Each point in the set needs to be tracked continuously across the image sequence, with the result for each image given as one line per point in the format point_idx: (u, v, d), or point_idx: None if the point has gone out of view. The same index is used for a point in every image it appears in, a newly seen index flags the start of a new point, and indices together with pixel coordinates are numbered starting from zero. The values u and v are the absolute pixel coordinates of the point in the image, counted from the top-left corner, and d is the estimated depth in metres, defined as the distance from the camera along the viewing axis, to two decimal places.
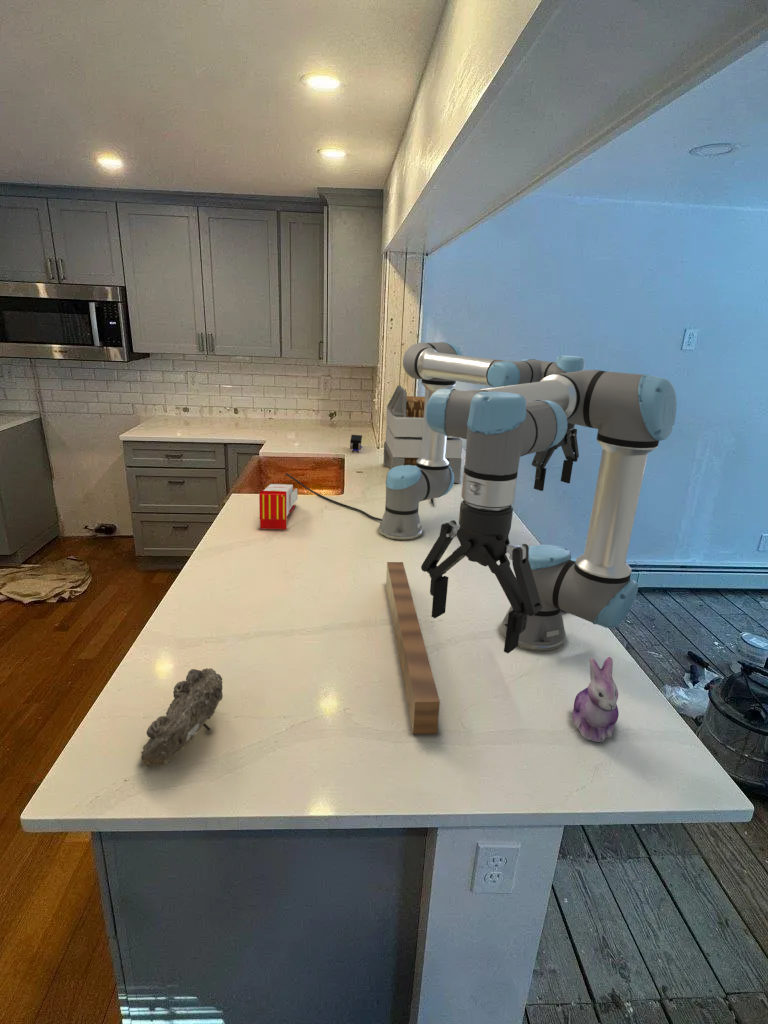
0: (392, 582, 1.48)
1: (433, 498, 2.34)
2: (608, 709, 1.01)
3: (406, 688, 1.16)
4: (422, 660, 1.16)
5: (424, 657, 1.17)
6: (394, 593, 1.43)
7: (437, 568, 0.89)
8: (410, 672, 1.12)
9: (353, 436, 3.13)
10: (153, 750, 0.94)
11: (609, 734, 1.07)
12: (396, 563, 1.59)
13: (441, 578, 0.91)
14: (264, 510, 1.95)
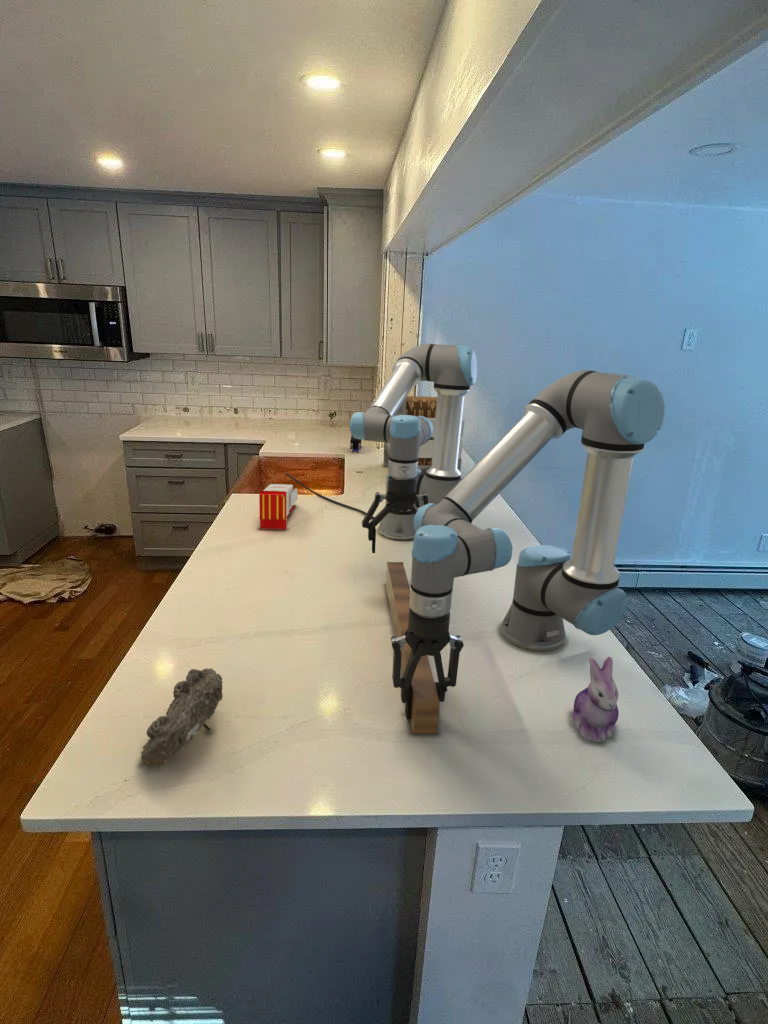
0: (392, 582, 1.48)
1: None
2: (608, 709, 1.01)
3: None
4: (422, 660, 1.16)
5: (424, 657, 1.17)
6: (394, 593, 1.43)
7: (406, 680, 1.06)
8: None
9: None
10: (153, 750, 0.94)
11: (609, 734, 1.07)
12: (396, 563, 1.59)
13: None
14: (264, 510, 1.95)
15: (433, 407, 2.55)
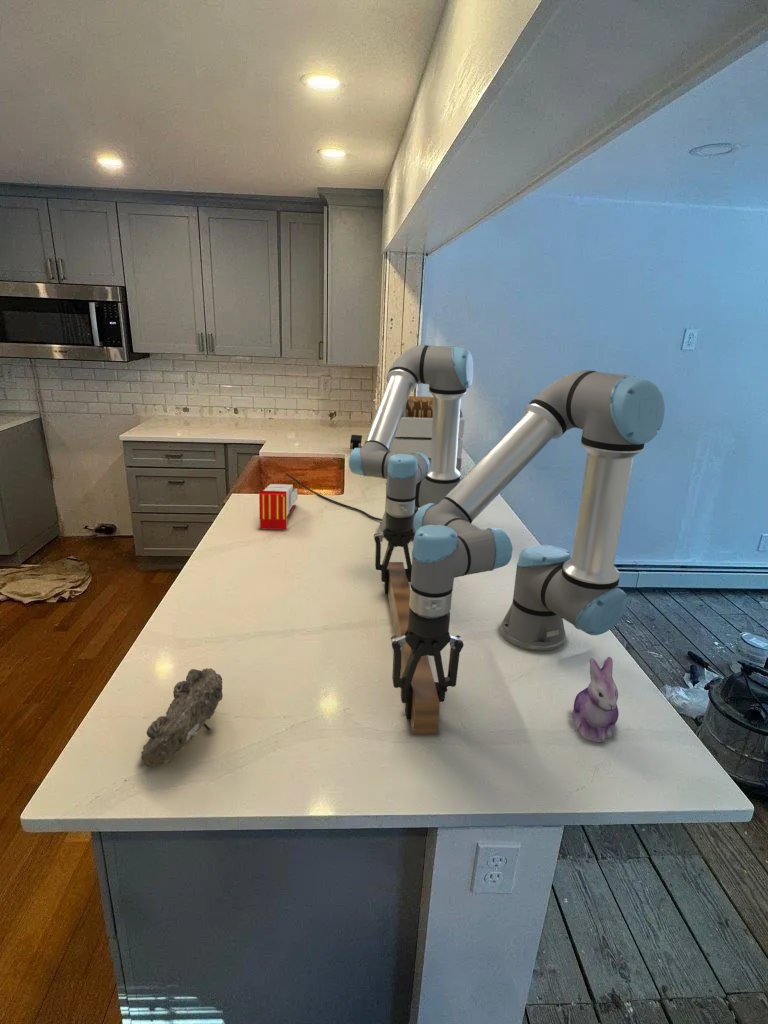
0: (392, 582, 1.48)
1: None
2: (608, 709, 1.01)
3: None
4: (422, 660, 1.16)
5: (424, 657, 1.17)
6: (394, 593, 1.43)
7: (406, 680, 1.06)
8: None
9: (353, 436, 3.13)
10: (153, 750, 0.94)
11: (609, 734, 1.07)
12: (396, 563, 1.59)
13: None
14: (264, 510, 1.95)
15: None
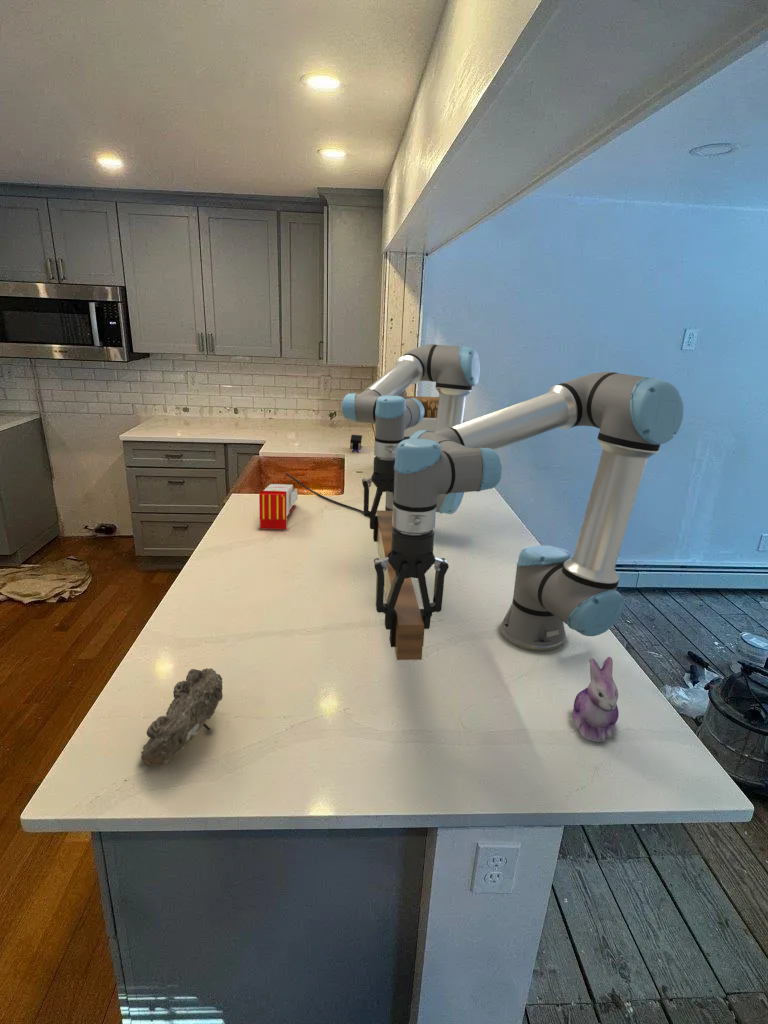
0: (380, 526, 1.45)
1: None
2: (608, 709, 1.01)
3: None
4: (408, 591, 1.12)
5: (410, 588, 1.14)
6: (382, 535, 1.39)
7: (390, 604, 1.03)
8: None
9: (353, 436, 3.13)
10: (153, 750, 0.94)
11: (609, 734, 1.07)
12: (386, 511, 1.56)
13: (393, 612, 1.05)
14: (264, 510, 1.95)
15: (433, 407, 2.55)
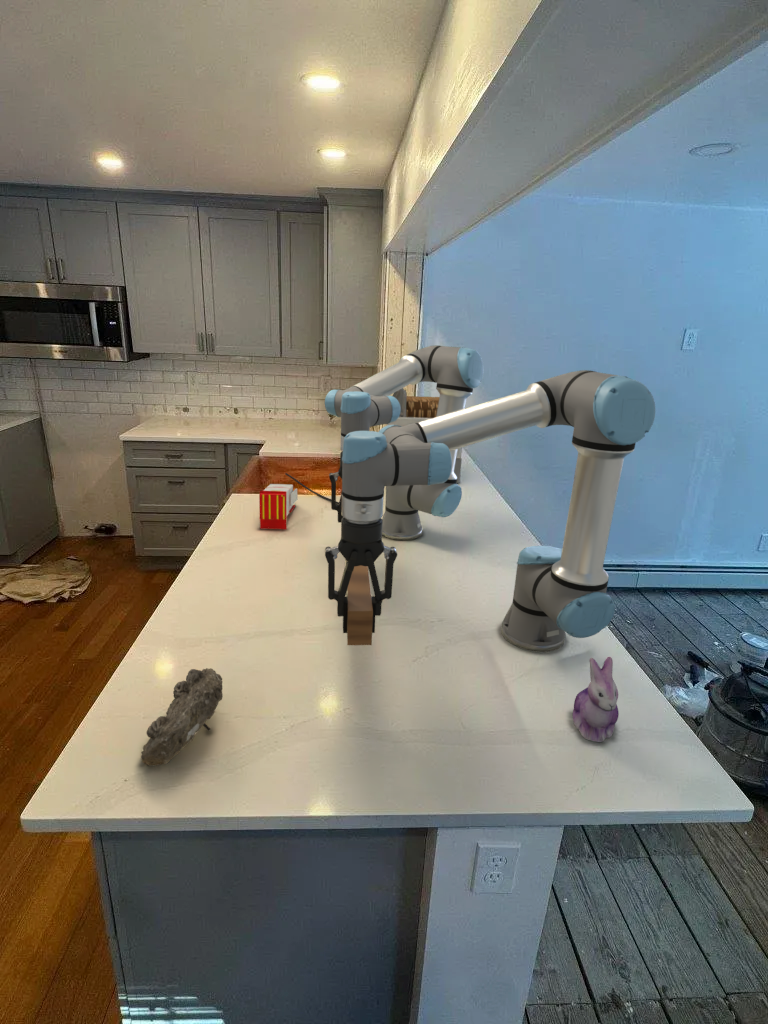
0: None
1: None
2: (608, 709, 1.01)
3: None
4: (363, 579, 1.16)
5: (365, 576, 1.17)
6: None
7: (341, 591, 1.06)
8: (348, 588, 1.12)
9: None
10: (153, 750, 0.94)
11: (609, 734, 1.07)
12: None
13: (345, 599, 1.08)
14: (264, 510, 1.95)
15: (433, 407, 2.55)
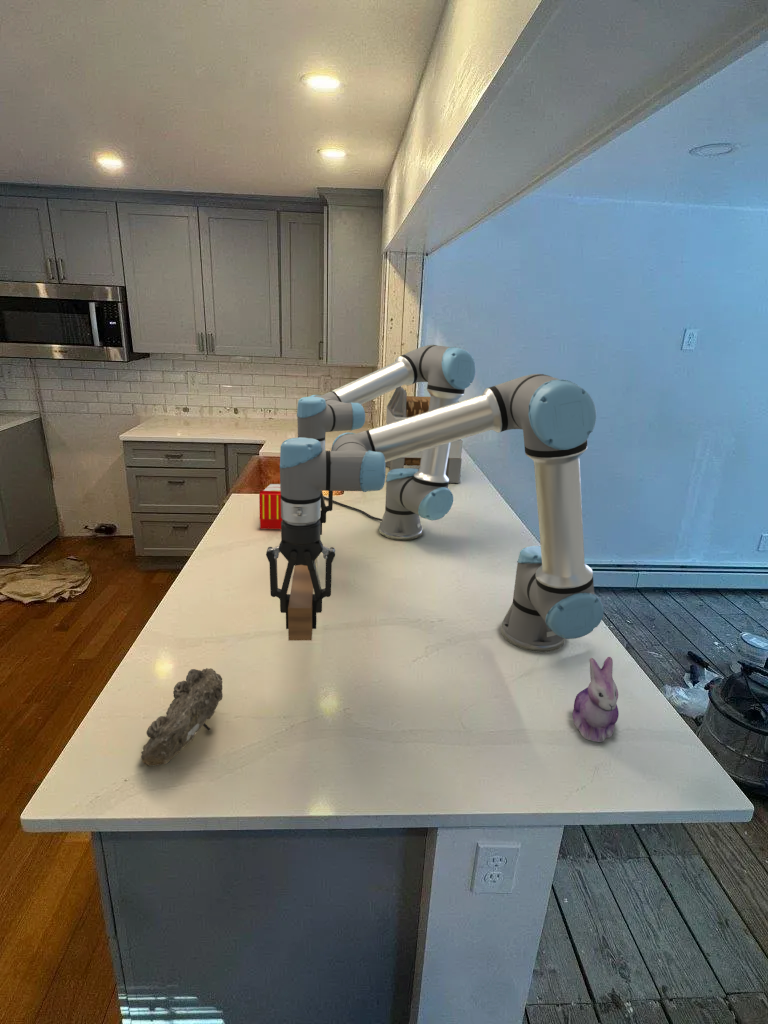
0: None
1: None
2: (608, 709, 1.01)
3: None
4: (308, 578, 1.22)
5: None
6: None
7: (283, 589, 1.12)
8: (292, 586, 1.18)
9: None
10: (153, 750, 0.94)
11: (609, 734, 1.07)
12: None
13: (287, 597, 1.14)
14: (264, 510, 1.95)
15: None
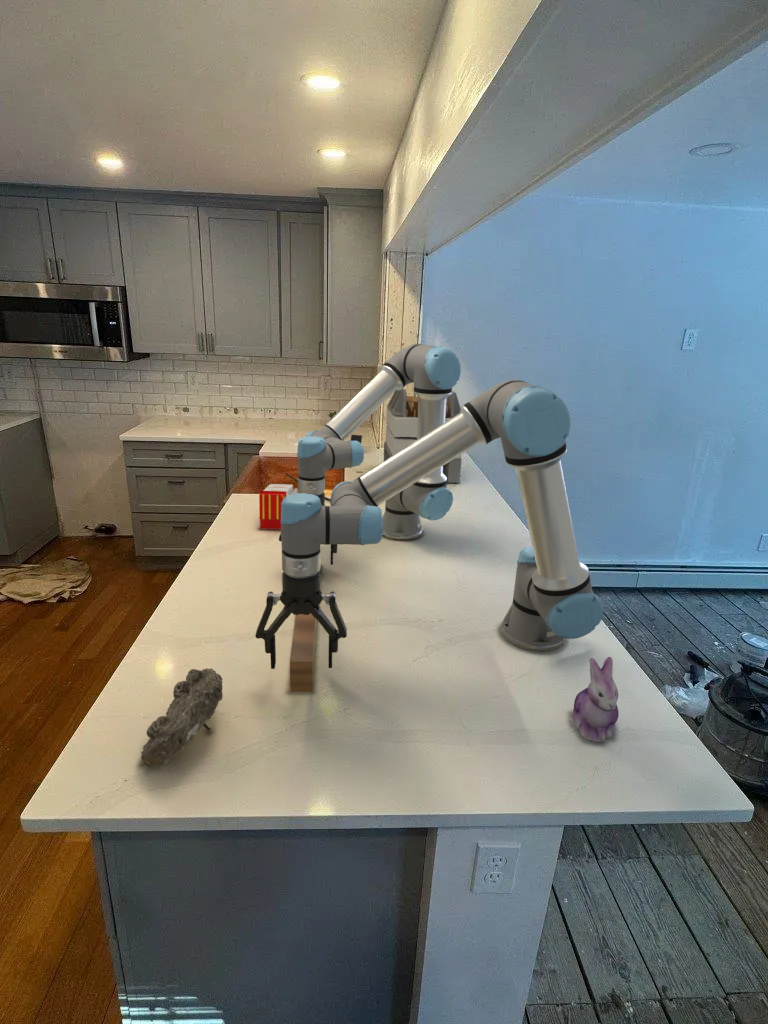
0: None
1: None
2: (608, 709, 1.01)
3: None
4: (308, 627, 1.26)
5: (311, 624, 1.27)
6: None
7: (270, 631, 1.15)
8: (294, 637, 1.22)
9: (353, 436, 3.13)
10: (153, 750, 0.94)
11: (609, 734, 1.07)
12: None
13: (272, 638, 1.17)
14: (264, 510, 1.95)
15: None
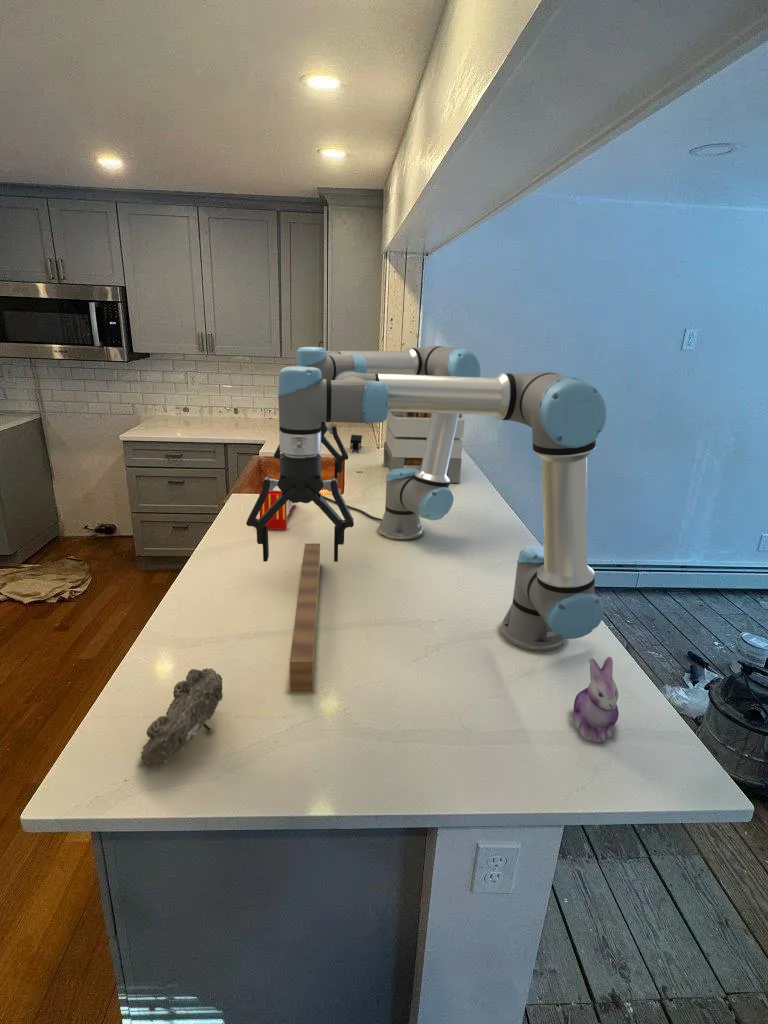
0: (304, 561, 1.58)
1: None
2: (608, 709, 1.01)
3: None
4: (308, 627, 1.26)
5: (311, 624, 1.27)
6: (302, 570, 1.53)
7: (263, 519, 1.07)
8: (294, 637, 1.22)
9: (353, 436, 3.13)
10: (153, 750, 0.94)
11: (609, 734, 1.07)
12: (314, 544, 1.69)
13: (264, 527, 1.09)
14: (264, 510, 1.95)
15: None
